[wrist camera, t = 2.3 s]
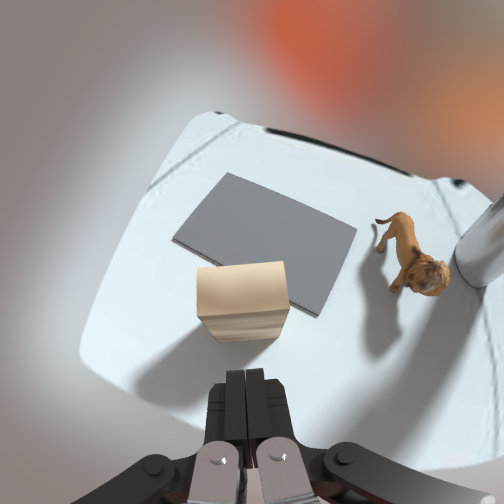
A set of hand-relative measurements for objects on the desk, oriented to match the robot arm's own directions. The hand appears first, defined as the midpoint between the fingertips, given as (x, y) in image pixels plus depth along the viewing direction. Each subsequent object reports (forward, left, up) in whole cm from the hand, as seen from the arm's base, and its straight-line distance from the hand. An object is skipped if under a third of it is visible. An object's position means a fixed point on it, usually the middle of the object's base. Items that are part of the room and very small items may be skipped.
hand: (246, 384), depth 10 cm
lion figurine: (-23, +10, -20) cm, 32 cm away
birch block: (-6, -4, -20) cm, 21 cm away
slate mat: (-18, -8, -20) cm, 28 cm away
